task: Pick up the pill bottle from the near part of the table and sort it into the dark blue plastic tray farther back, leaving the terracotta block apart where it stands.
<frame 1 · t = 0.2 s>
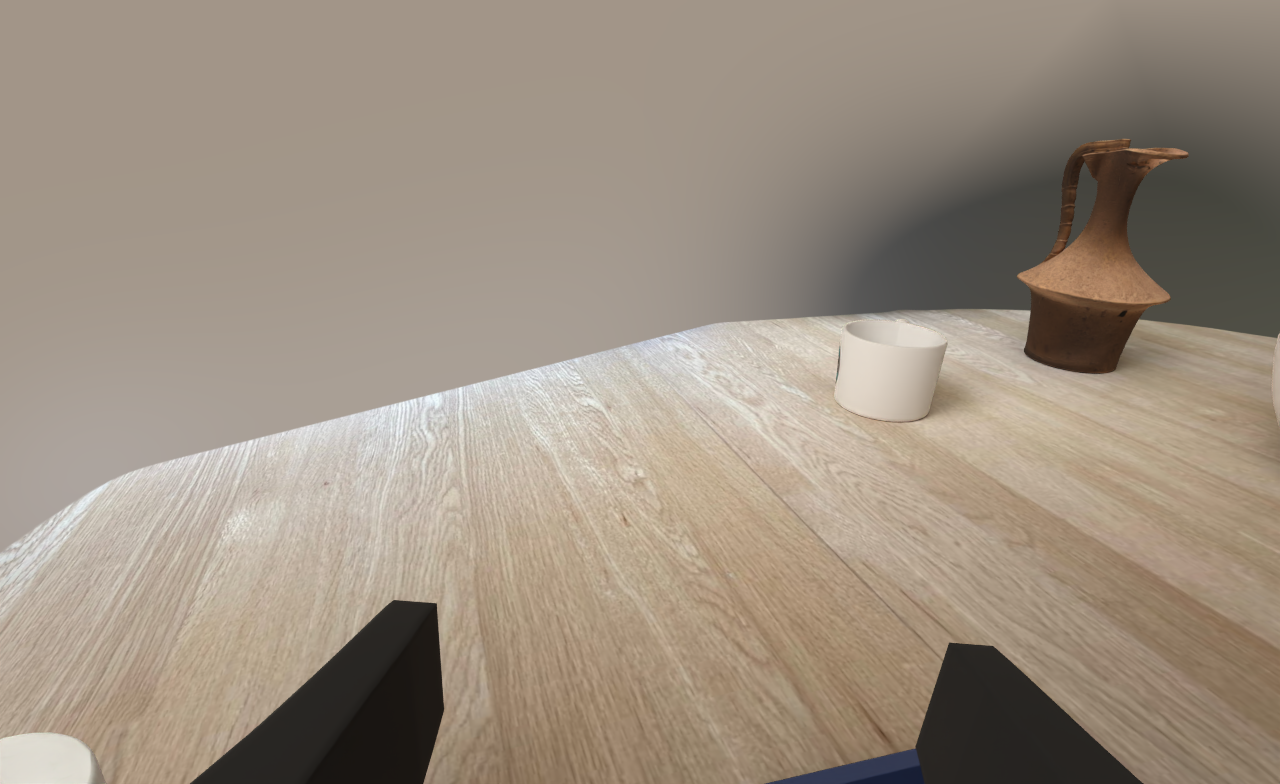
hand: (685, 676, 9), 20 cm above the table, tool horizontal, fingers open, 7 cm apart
pitcher: (1066, 361, 91), on the table
mug: (882, 401, 74), on the table
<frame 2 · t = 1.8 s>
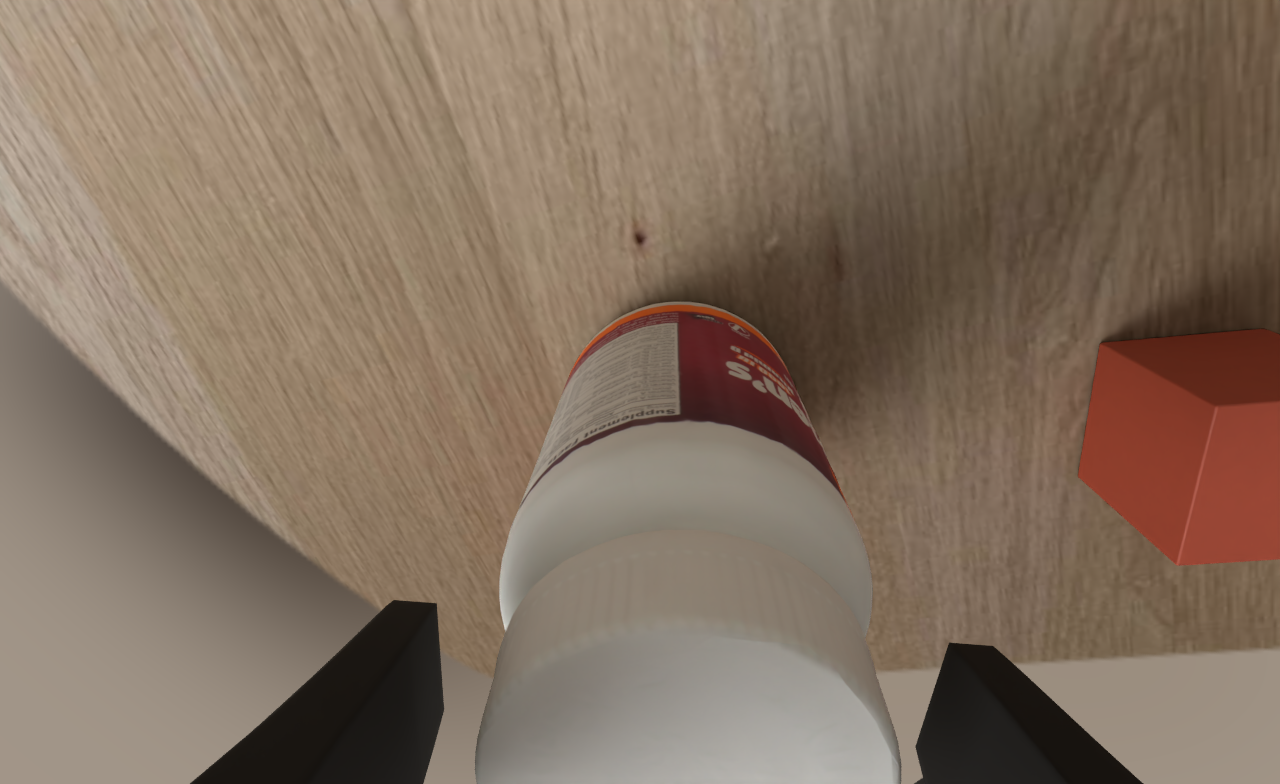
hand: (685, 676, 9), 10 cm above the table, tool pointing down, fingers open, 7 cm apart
pill bottle: (676, 400, 18), on the table
block: (1165, 406, 18), on the table
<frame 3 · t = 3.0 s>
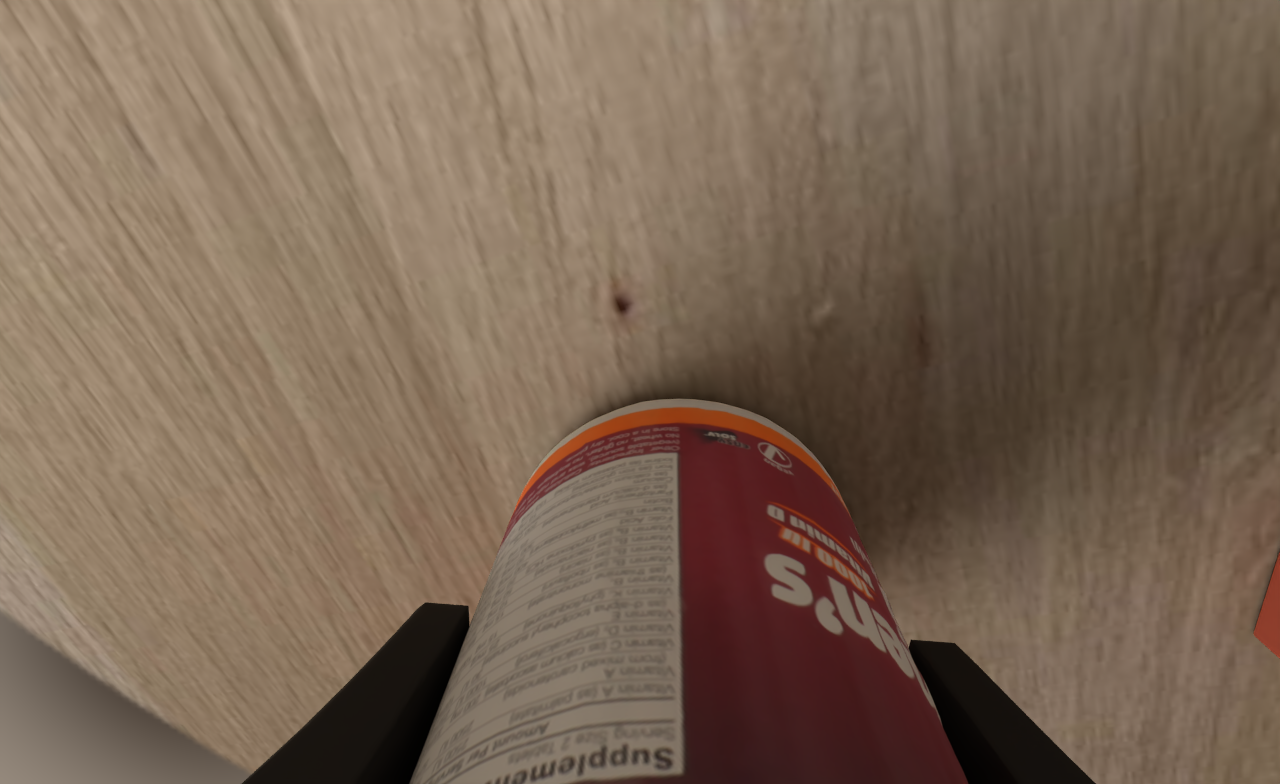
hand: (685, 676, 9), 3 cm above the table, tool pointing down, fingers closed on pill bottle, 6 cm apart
pill bottle: (676, 529, 13), on the table, touching gripper
when the fingers open (4 cm above the table, at t = 8.5 s): pill bottle stays where it is, resting on tray.
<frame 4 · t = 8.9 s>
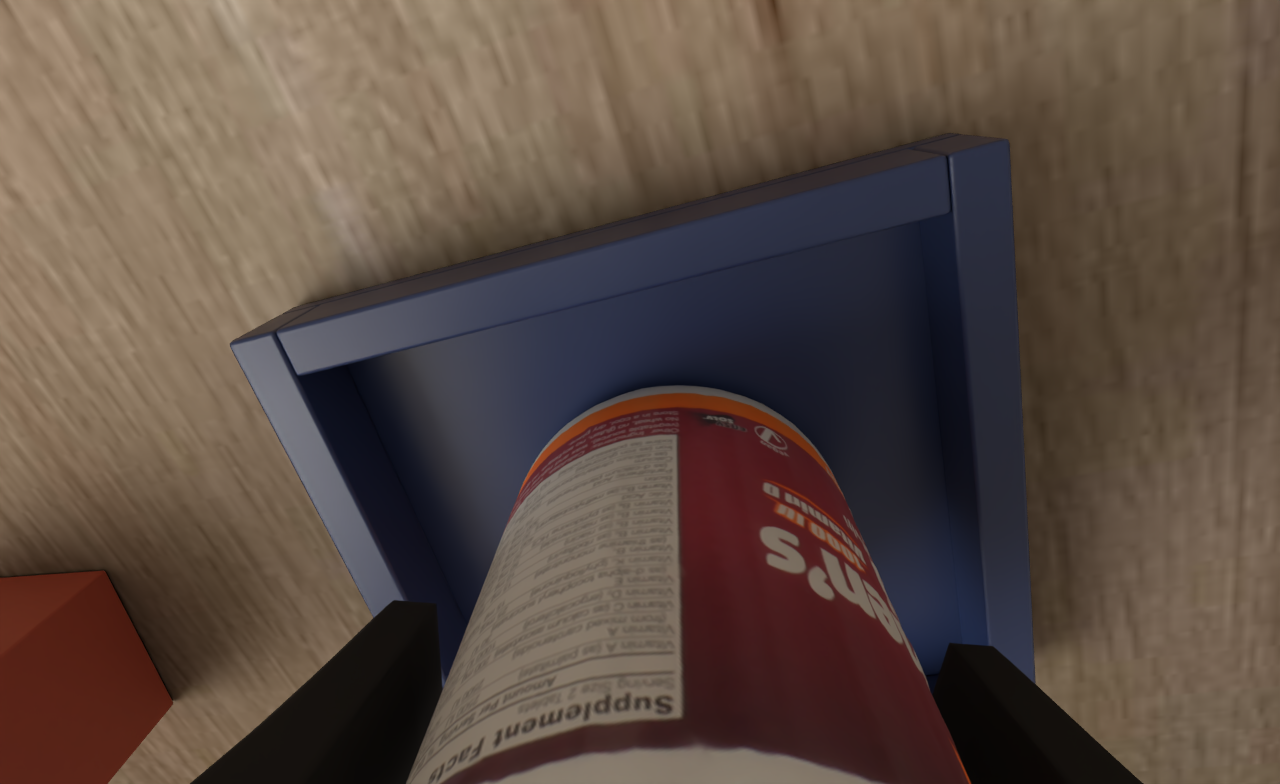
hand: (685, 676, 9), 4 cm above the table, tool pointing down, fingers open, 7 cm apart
tray: (679, 508, 13), on the table
pill bottle: (676, 513, 13), resting on tray
block: (61, 644, 16), on the table
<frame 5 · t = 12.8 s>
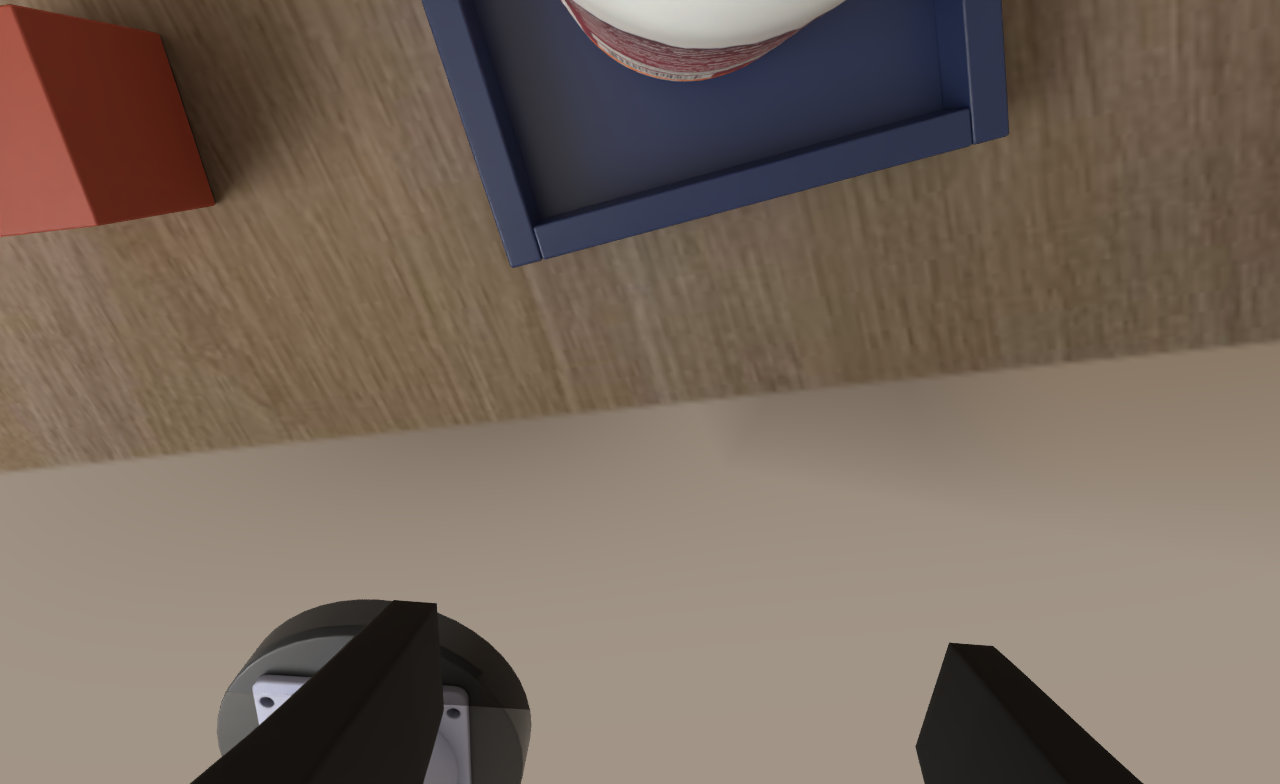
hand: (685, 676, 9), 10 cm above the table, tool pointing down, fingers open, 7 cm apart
block: (113, 132, 17), on the table
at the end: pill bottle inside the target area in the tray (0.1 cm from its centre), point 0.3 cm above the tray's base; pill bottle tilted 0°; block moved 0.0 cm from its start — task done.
